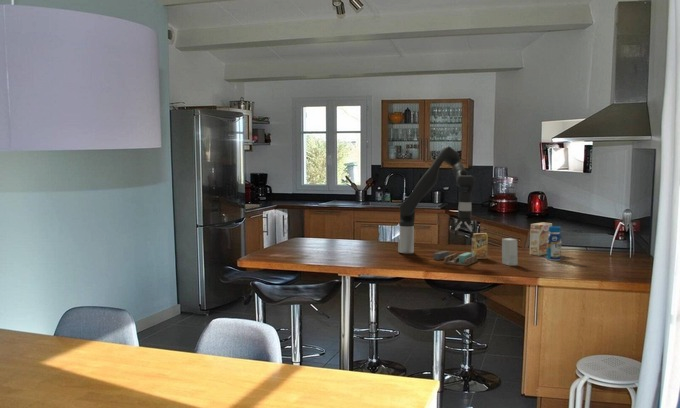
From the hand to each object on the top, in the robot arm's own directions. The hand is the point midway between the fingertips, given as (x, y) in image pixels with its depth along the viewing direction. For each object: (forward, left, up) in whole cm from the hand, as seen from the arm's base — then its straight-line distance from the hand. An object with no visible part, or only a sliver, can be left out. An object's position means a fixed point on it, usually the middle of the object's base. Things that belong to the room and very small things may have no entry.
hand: (463, 237), depth 344 cm
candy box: (+3, +18, -15) cm, 24 cm away
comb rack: (-2, 0, -15) cm, 15 cm away
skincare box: (+24, +9, -15) cm, 30 cm away
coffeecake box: (+30, +56, -15) cm, 65 cm away
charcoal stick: (-16, +5, -15) cm, 22 cm away
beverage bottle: (+42, +39, -15) cm, 59 cm away
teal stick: (+1, 0, -14) cm, 14 cm away
